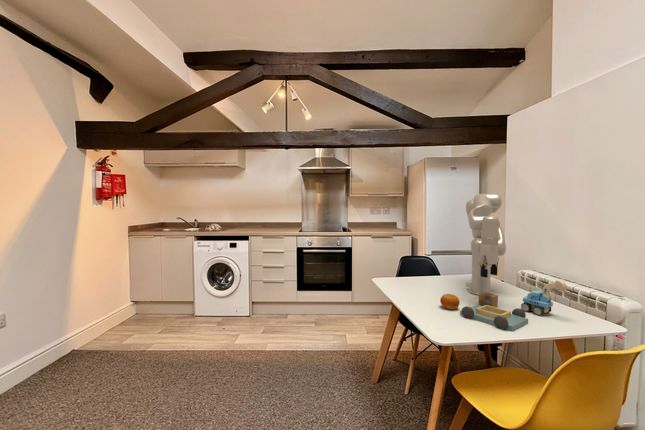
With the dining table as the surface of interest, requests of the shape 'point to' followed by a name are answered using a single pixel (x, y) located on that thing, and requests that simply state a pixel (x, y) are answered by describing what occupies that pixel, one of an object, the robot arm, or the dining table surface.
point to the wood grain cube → (488, 298)
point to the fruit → (449, 301)
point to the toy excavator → (541, 298)
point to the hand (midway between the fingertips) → (488, 275)
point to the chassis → (496, 316)
